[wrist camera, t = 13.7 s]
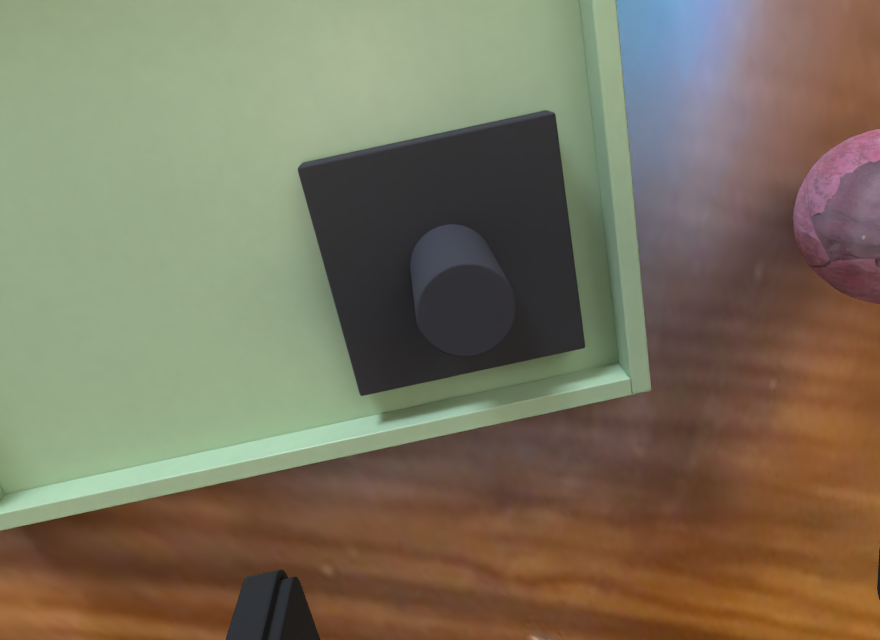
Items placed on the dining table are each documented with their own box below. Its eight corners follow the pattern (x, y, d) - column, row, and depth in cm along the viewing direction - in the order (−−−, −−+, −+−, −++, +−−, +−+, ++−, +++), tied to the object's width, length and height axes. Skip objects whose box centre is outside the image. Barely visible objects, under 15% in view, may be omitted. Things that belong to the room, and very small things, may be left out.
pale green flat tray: (564, -336, 19) (582, -379, 18) (634, 369, 28) (652, 391, 26) (-349, -139, 19) (-427, -160, 18) (2, 505, 28) (-26, 536, 26)
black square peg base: (547, 109, 23) (600, 122, 18) (577, 336, 27) (630, 411, 21) (300, 162, 23) (272, 193, 18) (361, 383, 27) (354, 470, 21)
